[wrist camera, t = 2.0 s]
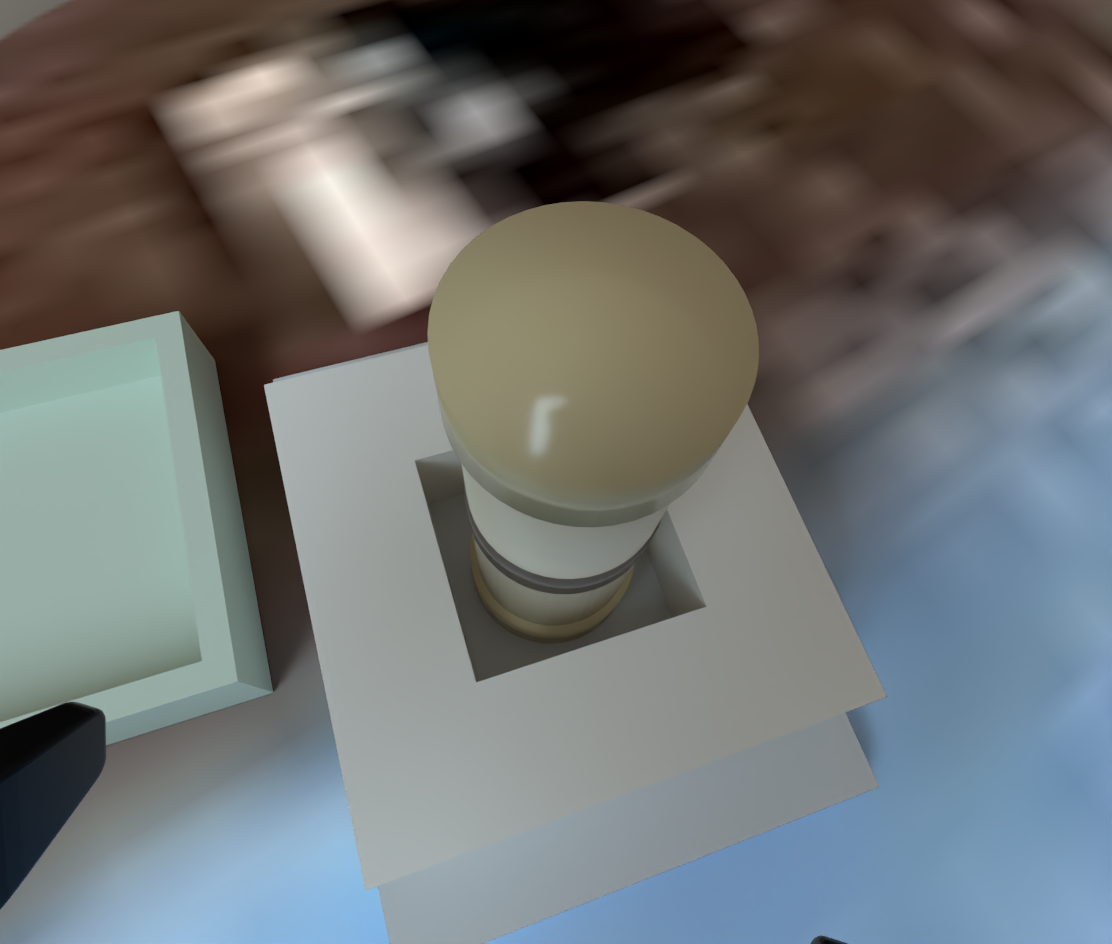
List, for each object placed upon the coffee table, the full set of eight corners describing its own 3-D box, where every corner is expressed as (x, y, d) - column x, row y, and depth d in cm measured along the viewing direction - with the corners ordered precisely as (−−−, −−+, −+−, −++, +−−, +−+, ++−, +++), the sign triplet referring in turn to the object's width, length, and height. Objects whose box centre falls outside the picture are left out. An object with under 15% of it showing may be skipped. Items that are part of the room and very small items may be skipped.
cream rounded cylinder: (648, 615, 22) (814, 431, 10) (498, 664, 21) (480, 528, 9) (596, 477, 24) (684, 175, 12) (455, 517, 23) (392, 237, 11)
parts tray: (273, 692, 21) (237, 681, 19) (-178, 834, 19) (-294, 846, 16) (214, 360, 25) (179, 310, 23) (-161, 448, 23) (-251, 405, 21)
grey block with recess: (863, 786, 21) (948, 790, 17) (402, 967, 19) (371, 1024, 15) (648, 303, 28) (672, 221, 23) (281, 393, 25) (236, 319, 21)
